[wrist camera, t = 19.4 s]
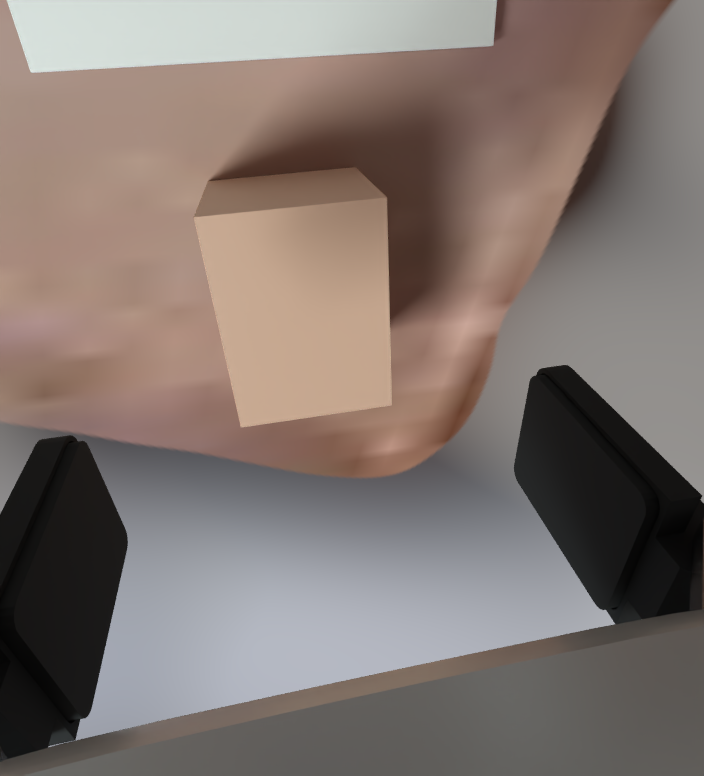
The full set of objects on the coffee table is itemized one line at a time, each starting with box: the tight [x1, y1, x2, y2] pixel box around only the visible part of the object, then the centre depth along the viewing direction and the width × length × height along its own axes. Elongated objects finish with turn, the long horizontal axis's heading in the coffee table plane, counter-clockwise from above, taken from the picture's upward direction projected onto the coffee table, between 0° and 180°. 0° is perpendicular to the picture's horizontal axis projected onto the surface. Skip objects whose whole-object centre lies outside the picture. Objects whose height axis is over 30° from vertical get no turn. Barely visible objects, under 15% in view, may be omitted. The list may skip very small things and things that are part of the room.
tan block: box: [194, 167, 392, 427], centre depth 20 cm, size 8×6×6 cm
